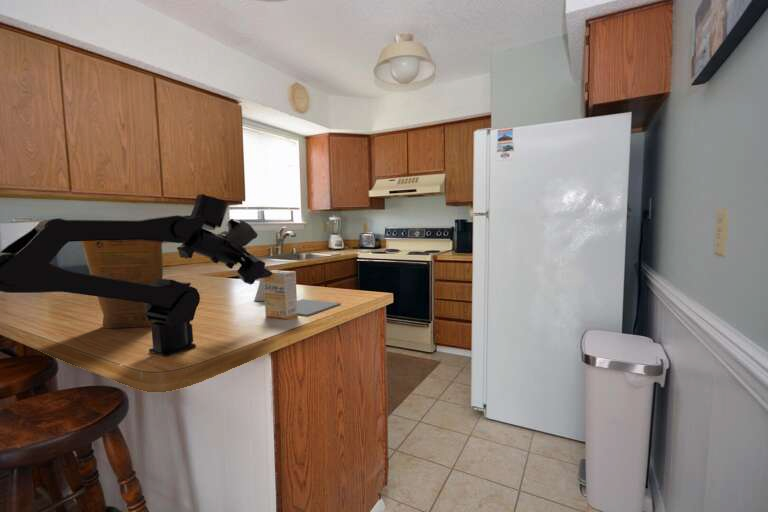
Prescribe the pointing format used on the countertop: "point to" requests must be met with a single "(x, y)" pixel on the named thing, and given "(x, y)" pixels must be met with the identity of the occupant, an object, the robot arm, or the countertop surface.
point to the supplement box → (280, 294)
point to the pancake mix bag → (124, 276)
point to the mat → (313, 306)
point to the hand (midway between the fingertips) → (262, 266)
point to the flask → (260, 291)
